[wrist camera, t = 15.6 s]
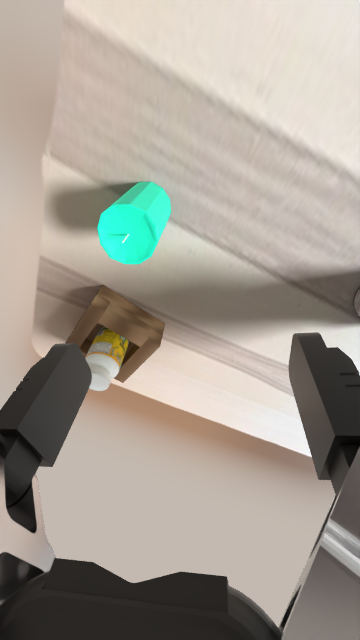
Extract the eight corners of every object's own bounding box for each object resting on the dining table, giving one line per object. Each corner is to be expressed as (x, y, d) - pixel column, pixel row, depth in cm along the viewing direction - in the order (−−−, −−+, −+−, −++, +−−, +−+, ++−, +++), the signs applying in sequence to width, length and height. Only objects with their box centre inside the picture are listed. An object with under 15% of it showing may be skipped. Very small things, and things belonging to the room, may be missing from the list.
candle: (151, 239, 36) (130, 282, 27) (116, 208, 34) (78, 242, 25) (181, 206, 33) (168, 241, 24) (143, 169, 31) (113, 192, 22)
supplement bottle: (97, 322, 43) (72, 367, 35) (129, 326, 43) (111, 372, 35) (100, 345, 46) (79, 391, 39) (130, 349, 46) (114, 396, 39)
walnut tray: (165, 322, 46) (159, 346, 41) (131, 358, 52) (123, 382, 47) (103, 283, 42) (90, 304, 37) (75, 327, 48) (60, 350, 44)
